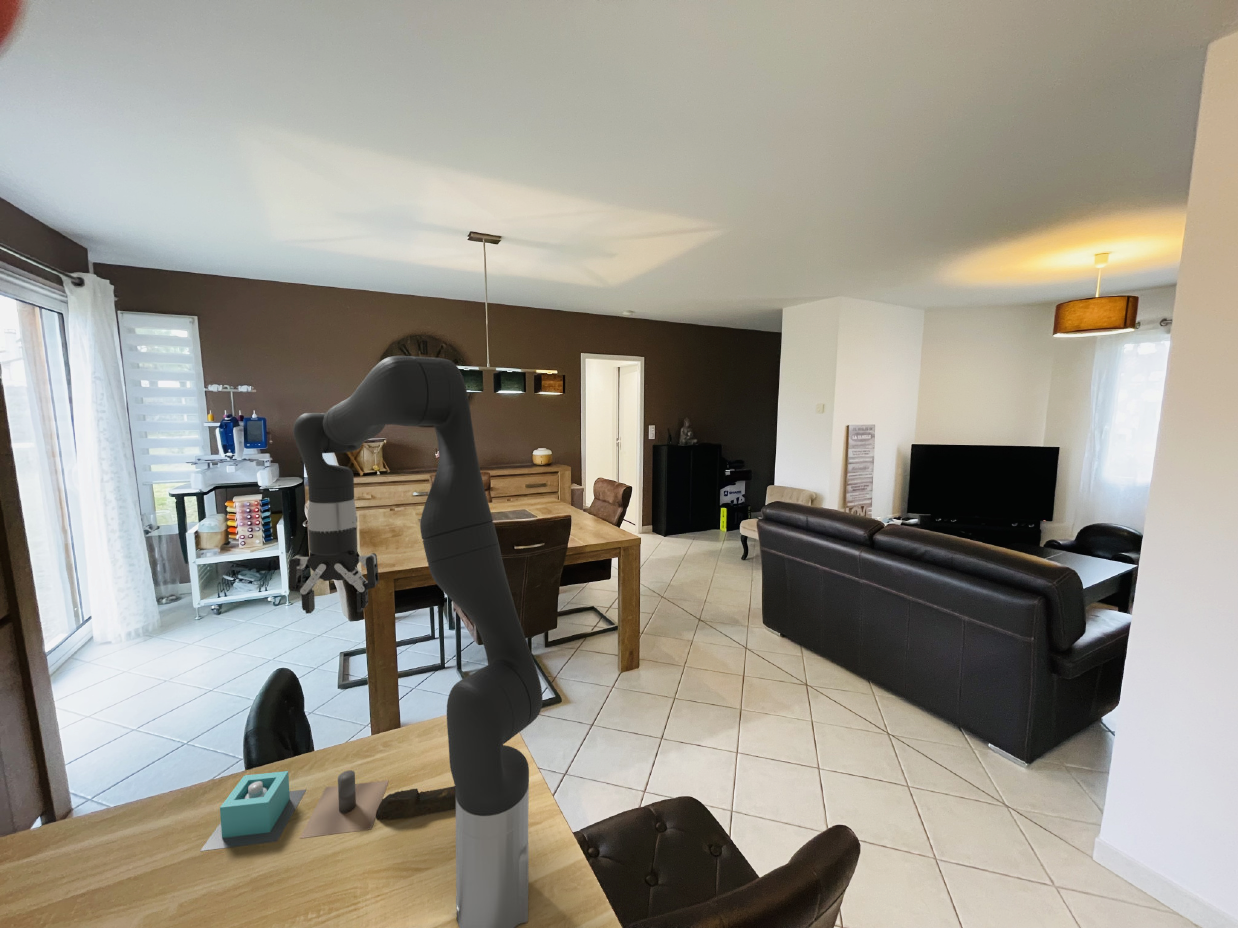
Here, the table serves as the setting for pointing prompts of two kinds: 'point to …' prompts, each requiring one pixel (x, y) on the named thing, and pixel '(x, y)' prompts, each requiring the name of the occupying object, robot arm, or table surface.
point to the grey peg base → (272, 836)
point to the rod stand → (345, 807)
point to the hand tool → (416, 803)
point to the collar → (254, 805)
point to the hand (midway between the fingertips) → (336, 610)
